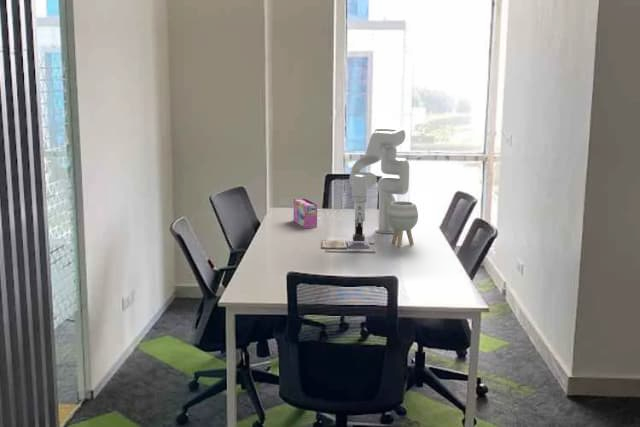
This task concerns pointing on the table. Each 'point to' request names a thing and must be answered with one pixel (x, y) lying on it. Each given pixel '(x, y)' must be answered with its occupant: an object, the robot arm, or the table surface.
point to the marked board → (334, 244)
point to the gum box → (305, 213)
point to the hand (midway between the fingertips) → (358, 232)
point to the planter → (402, 220)
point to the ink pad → (358, 244)
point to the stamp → (358, 236)
